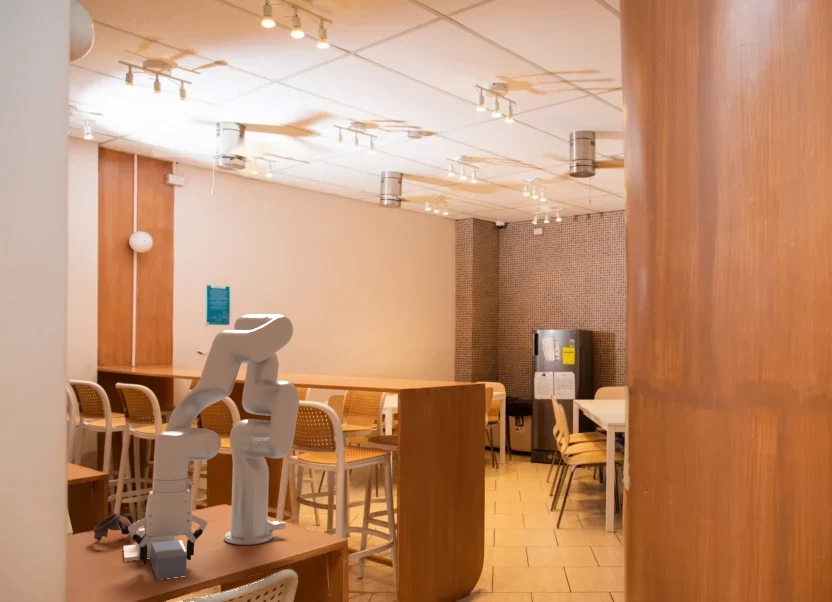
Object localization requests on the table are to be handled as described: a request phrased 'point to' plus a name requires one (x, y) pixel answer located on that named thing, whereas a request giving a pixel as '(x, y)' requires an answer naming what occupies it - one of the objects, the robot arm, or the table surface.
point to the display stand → (134, 550)
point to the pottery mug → (114, 526)
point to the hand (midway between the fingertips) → (166, 560)
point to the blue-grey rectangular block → (168, 559)
